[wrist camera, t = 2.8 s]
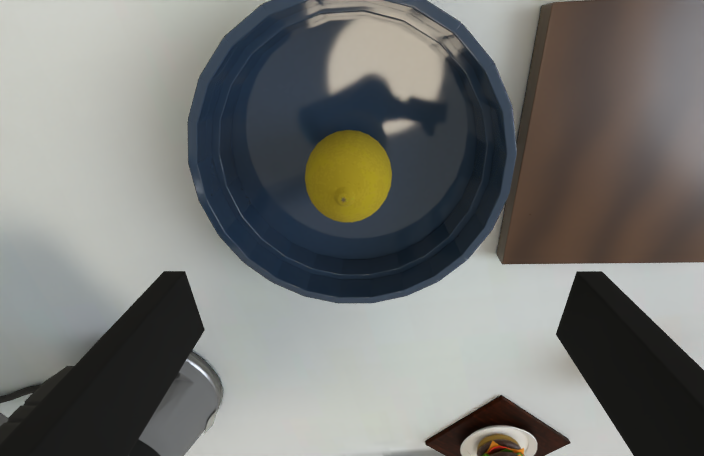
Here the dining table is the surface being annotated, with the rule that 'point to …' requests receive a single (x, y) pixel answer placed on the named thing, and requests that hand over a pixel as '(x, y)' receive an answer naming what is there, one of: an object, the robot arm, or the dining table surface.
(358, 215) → the lemon
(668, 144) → the board
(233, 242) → the bowl
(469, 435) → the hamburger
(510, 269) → the dining table surface
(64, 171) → the dining table surface
